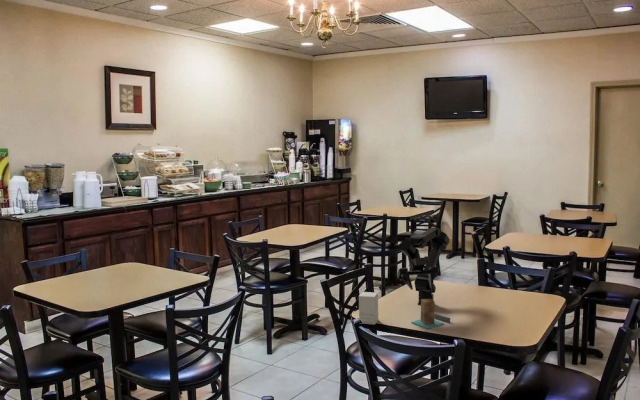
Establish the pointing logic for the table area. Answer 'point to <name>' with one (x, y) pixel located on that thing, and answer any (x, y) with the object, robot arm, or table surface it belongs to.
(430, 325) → the mat
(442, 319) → the low wall
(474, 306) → the table surface
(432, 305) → the walnut pillar
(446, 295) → the table surface
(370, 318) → the supplement box
